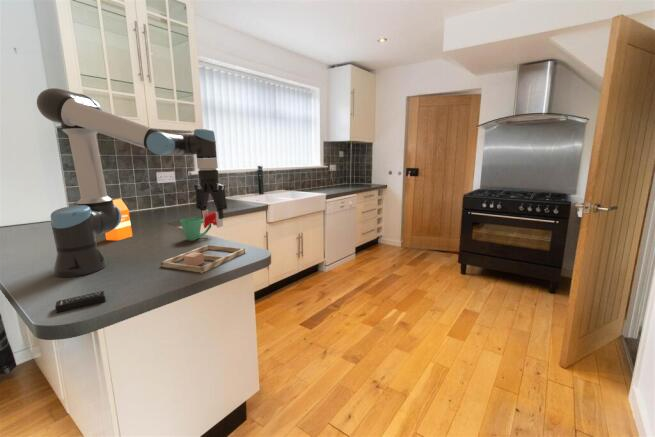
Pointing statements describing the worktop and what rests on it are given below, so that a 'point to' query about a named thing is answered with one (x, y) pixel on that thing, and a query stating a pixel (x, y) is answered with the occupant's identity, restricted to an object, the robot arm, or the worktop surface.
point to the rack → (216, 259)
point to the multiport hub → (80, 301)
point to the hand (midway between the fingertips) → (213, 226)
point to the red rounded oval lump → (210, 219)
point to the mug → (193, 228)
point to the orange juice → (121, 223)
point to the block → (194, 259)
